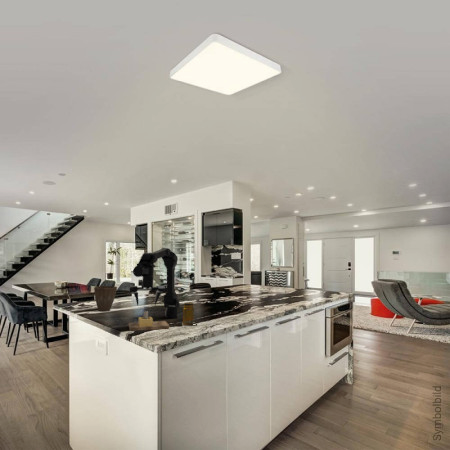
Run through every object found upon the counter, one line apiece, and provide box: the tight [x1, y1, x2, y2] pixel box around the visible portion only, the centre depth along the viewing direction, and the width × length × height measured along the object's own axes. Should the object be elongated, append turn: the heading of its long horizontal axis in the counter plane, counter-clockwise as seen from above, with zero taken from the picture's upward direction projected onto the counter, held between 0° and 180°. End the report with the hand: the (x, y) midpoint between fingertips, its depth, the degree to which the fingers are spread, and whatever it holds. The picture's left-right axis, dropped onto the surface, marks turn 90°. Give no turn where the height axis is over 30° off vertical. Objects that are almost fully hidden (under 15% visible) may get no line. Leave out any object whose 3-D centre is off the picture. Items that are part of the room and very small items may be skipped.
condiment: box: [181, 302, 195, 327], centre depth 171 cm, size 7×8×12 cm
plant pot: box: [93, 285, 118, 312], centre depth 206 cm, size 15×15×16 cm
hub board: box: [128, 310, 170, 332], centre depth 162 cm, size 20×12×8 cm, turn 111°
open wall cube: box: [137, 316, 154, 327], centre depth 160 cm, size 7×7×4 cm
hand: (146, 305), depth 161 cm, fingers open, 9 cm apart
